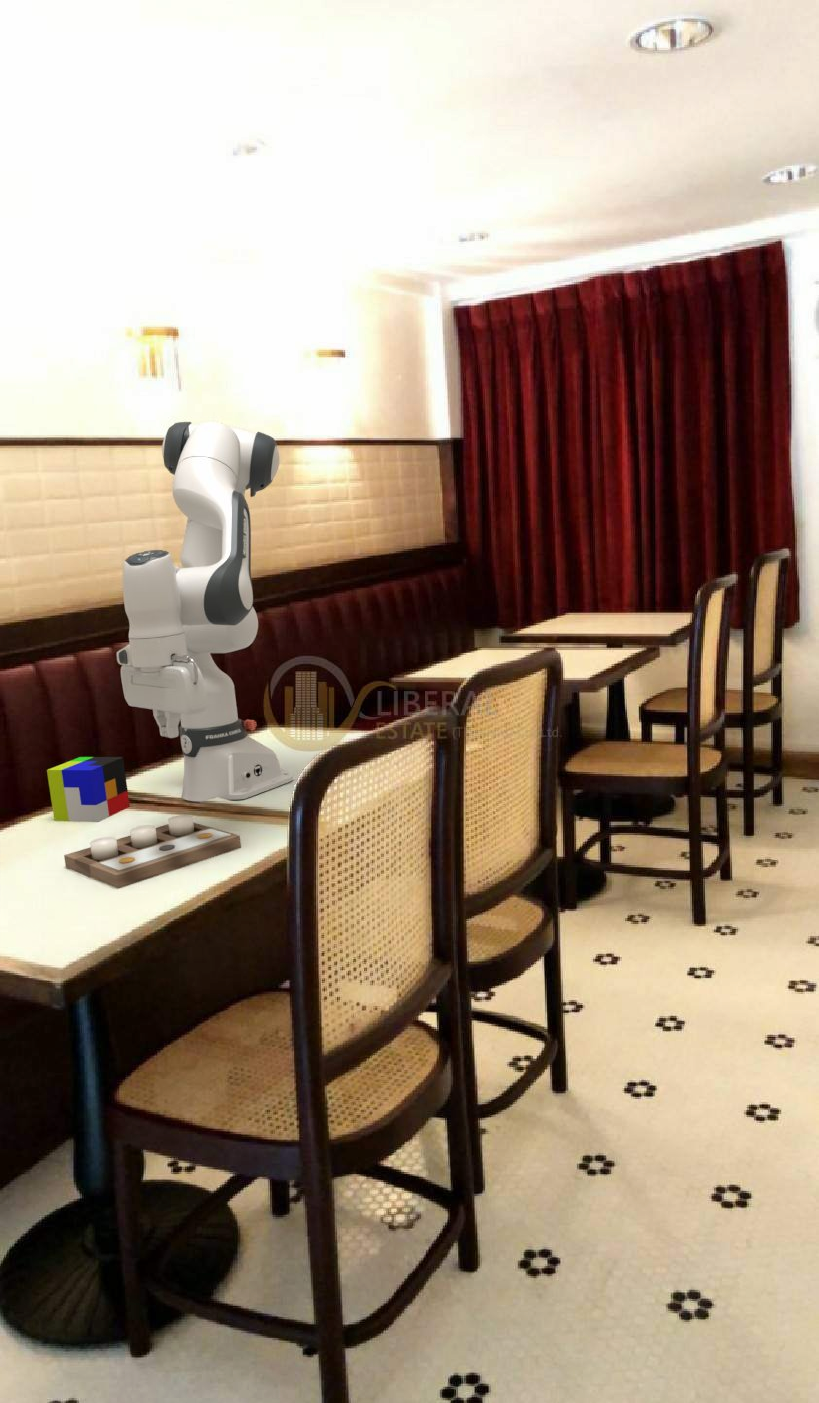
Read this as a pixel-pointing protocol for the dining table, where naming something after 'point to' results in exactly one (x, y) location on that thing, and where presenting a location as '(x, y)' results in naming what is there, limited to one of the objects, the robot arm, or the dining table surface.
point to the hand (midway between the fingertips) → (169, 736)
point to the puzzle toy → (88, 789)
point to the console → (153, 855)
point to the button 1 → (104, 848)
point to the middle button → (143, 836)
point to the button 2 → (181, 825)
